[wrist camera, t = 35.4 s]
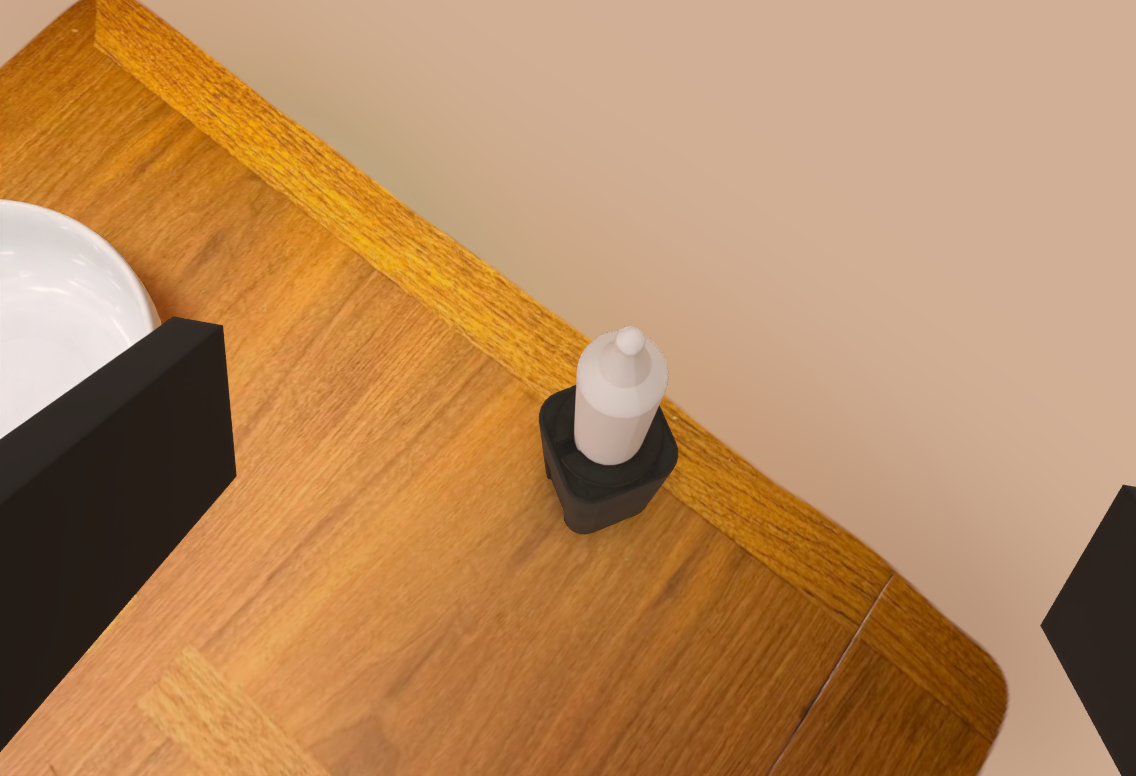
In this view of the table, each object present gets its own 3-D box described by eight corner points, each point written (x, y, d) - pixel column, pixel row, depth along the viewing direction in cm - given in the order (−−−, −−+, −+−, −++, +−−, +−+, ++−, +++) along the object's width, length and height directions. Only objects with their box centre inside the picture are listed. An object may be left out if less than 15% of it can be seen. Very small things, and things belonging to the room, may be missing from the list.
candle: (654, 507, 45) (755, 386, 21) (572, 540, 45) (580, 454, 21) (620, 427, 47) (678, 227, 23) (539, 458, 46) (512, 288, 22)
